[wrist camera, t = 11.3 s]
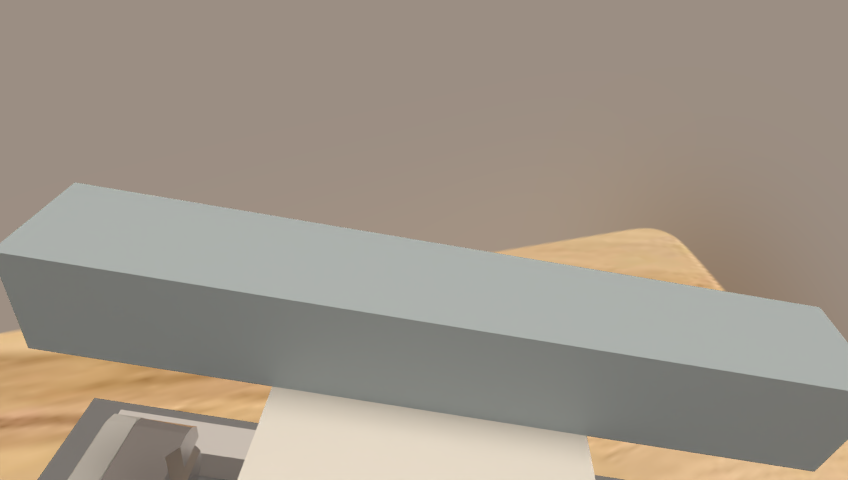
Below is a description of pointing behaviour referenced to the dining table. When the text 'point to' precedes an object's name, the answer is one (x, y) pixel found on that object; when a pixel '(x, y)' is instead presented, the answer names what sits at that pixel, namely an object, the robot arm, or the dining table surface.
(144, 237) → the stand
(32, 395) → the dining table surface
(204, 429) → the plate
